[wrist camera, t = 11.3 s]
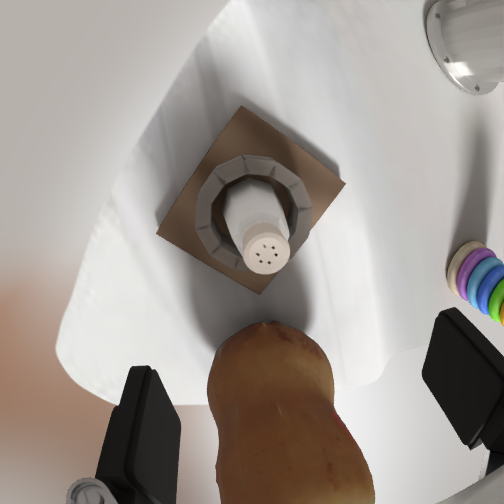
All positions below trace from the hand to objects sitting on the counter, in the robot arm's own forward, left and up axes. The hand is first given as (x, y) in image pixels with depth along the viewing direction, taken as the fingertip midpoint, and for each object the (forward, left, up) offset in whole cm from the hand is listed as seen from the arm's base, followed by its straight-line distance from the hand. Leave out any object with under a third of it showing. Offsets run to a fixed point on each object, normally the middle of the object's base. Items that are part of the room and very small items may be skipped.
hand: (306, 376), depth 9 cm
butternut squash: (+18, -1, -22) cm, 29 cm away
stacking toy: (+12, +28, -22) cm, 38 cm away
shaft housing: (0, 0, -22) cm, 22 cm away
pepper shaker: (0, 0, -21) cm, 21 cm away
